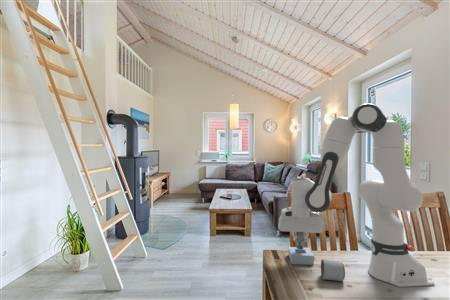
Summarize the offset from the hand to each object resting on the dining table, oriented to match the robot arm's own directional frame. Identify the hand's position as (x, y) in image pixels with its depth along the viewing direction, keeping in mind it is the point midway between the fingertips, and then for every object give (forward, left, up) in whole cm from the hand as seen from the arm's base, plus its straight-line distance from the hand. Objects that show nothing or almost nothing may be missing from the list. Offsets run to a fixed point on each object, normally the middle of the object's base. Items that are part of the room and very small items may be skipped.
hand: (299, 241), depth 124 cm
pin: (0, 0, -3) cm, 3 cm away
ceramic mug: (-9, +16, -9) cm, 21 cm away
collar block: (0, 0, -9) cm, 9 cm away
